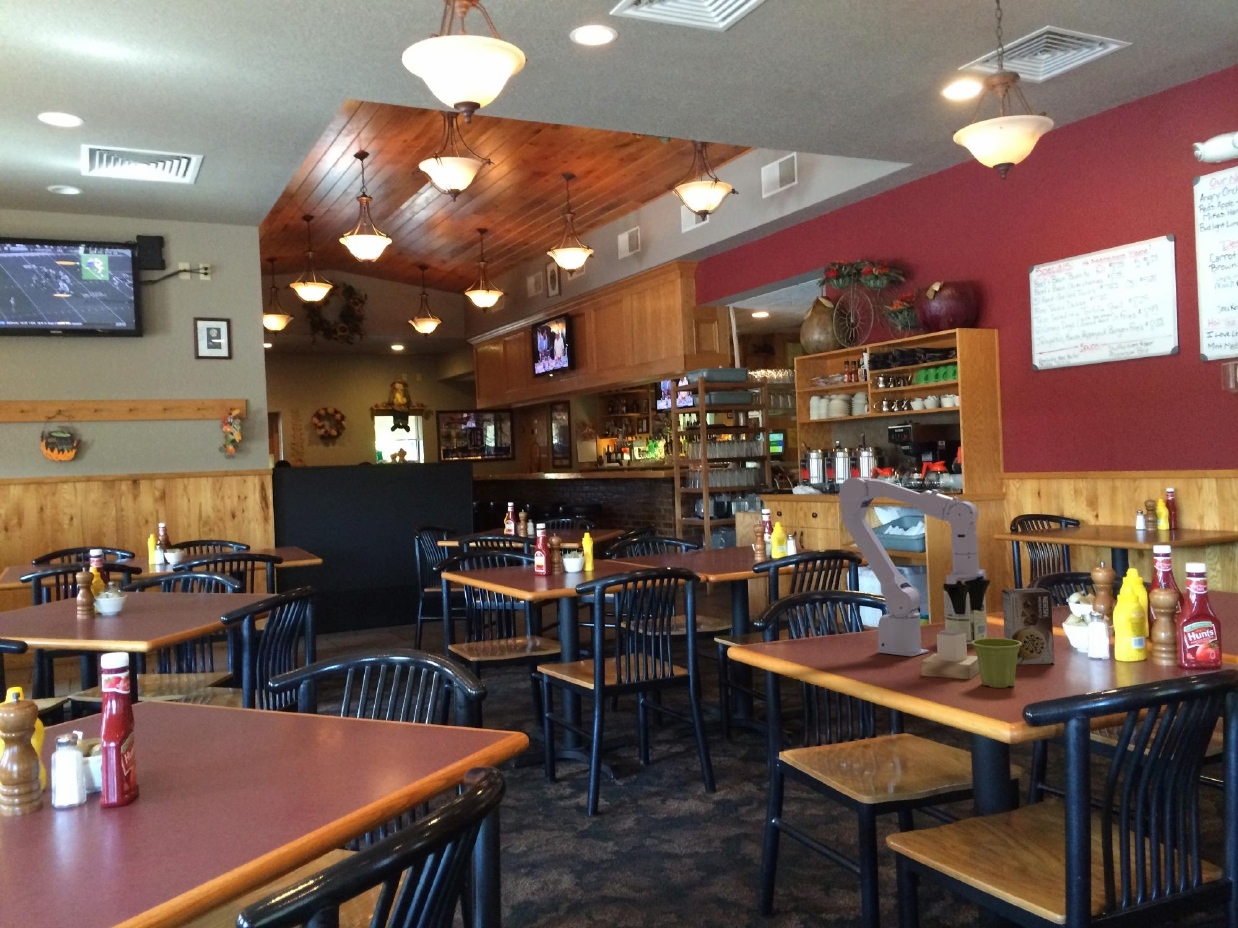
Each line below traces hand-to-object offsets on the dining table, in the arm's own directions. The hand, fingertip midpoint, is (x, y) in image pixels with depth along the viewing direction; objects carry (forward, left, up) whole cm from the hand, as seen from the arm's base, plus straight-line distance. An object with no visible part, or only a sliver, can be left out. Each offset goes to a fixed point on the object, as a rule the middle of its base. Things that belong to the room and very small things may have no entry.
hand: (968, 612), depth 230 cm
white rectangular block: (+6, -18, -7) cm, 20 cm away
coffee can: (-11, +19, -11) cm, 24 cm away
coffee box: (+13, +3, -11) cm, 17 cm away
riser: (+6, -18, -10) cm, 22 cm away
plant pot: (+19, -23, -11) cm, 32 cm away
